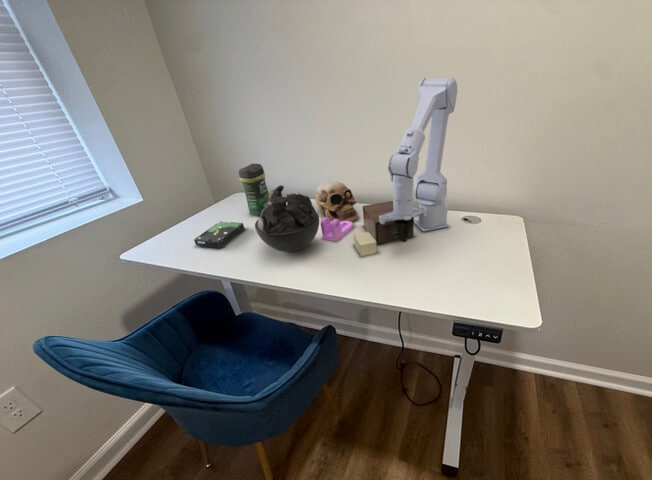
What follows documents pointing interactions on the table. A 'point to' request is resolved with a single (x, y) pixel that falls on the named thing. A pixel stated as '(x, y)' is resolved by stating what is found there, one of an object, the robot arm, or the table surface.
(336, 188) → the skull
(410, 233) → the drawer
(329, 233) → the bracket
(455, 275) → the table surface
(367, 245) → the beige rectangular block
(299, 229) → the bowl of black rocks
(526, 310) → the table surface
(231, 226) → the disk drive
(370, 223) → the cabinet
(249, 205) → the coffee jar
